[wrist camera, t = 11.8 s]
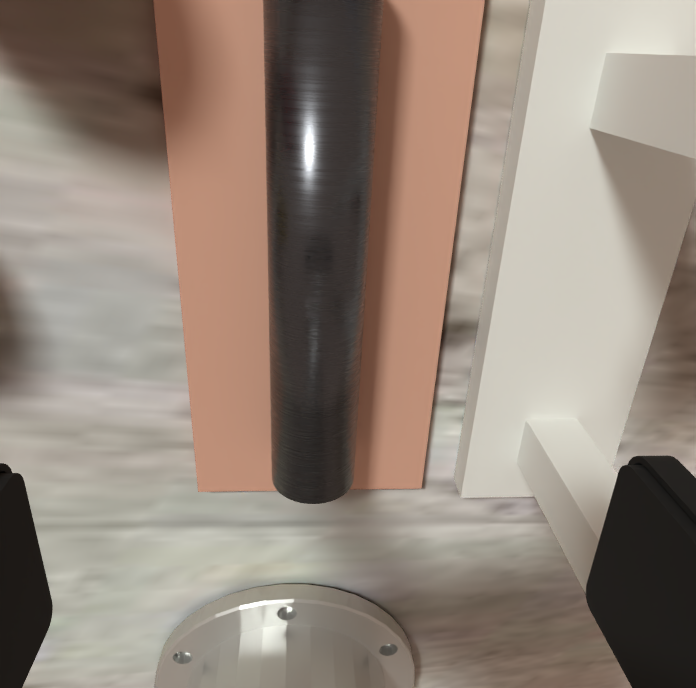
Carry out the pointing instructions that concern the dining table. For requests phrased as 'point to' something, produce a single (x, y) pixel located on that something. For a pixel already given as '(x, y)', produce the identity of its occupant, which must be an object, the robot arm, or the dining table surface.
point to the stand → (580, 255)
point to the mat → (251, 229)
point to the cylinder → (318, 232)
